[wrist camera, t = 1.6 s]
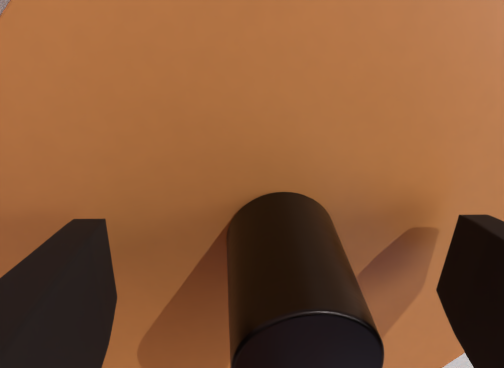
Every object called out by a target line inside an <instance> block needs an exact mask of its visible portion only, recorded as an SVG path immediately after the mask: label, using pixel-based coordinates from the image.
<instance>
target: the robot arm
mask: <svg viewBox="0 0 504 368" xmlns="http://www.w3.org/2000/svg"><path fill="white" fill-rule="evenodd" d="M436 291H437V294H438V296H439V299H440V301H441V304H442V306H443V309H444V311H445V314H446V316H447V318H448V321H449V323H450V325H451V327H452V330H453V332H454V334H455V336H456V338H457V339H458V341H459V343H460V345H461V346H462V348H463V350H464V352H465V353H466V355H467V357H468V358H469V360H470V362H471V364H472V365H473V367H474V368H504V221H502V220H500V219H497V218H495V217H492V216H490V215H487V214H483V215H459V217H458V220H457V223H456V227H455V230H454V233H453V236H452V240H451V243H450V246H449V249H448V253H447V256H446V259H445V262H444V266H443V269H442V272H441V275H440V278H439V282H438V285H437V288H436ZM116 303H117V291H116V285H115V278H114V272H113V265H112V258H111V252H110V245H109V239H108V232H107V226H106V219H73V220H71V221H70V222H69V223H67V224H66V225H65V226H63V227H62V228H61V229H60V230H58V231H57V232H56V233H55V234H54V235H52V236H51V237H50V238H49V239H47V240H46V241H45V242H44V243H43V244H41V245H40V246H39V247H38V248H37V249H35V250H34V251H33V252H32V253H31V254H29V255H28V256H27V257H26V258H24V259H23V260H22V261H21V262H19V263H18V264H17V265H16V266H14V267H13V268H12V269H11V270H9V271H8V272H7V273H6V274H4V275H3V276H2V277H1V278H0V368H102V365H103V362H104V359H105V356H106V352H107V349H108V346H109V341H110V336H111V331H112V326H113V321H114V315H115V309H116Z"/></svg>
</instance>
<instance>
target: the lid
mask: <svg viewBox="0 0 504 368" xmlns="http://www.w3.org/2000/svg"><path fill="white" fill-rule="evenodd" d="M483 214H487V215H490V216H492V217H495V218H497V219H500V220H502V221H504V0H10V1H9V3H8V4H7V6H6V8H5V9H4V11H3V12H2V14H1V15H0V278H1V277H2V276H3V275H4V274H6V273H7V272H8V271H9V270H11V269H12V268H13V267H14V266H16V265H17V264H18V263H19V262H21V261H22V260H23V259H24V258H26V257H27V256H28V255H29V254H31V253H32V252H33V251H34V250H35V249H37V248H38V247H39V246H40V245H41V244H43V243H44V242H45V241H46V240H47V239H49V238H50V237H51V236H52V235H54V234H55V233H56V232H57V231H58V230H60V229H61V228H62V227H63V226H65V225H66V224H67V223H69V222H70V221H71V220H73V219H106V226H107V232H108V239H109V245H110V252H111V258H112V265H113V272H114V278H115V285H116V291H117V303H116V309H115V315H114V321H113V326H112V331H111V336H110V341H109V346H108V349H107V352H106V356H105V359H104V362H103V365H102V368H442V367H444V366H445V365H447V364H448V363H450V362H451V361H453V360H454V359H456V358H457V357H459V356H460V355H462V354H463V353H464V350H463V348H462V346H461V345H460V343H459V341H458V339H457V338H456V336H455V334H454V332H453V330H452V327H451V325H450V323H449V321H448V318H447V316H446V314H445V311H444V309H443V306H442V304H441V301H440V299H439V296H438V294H437V291H436V288H437V285H438V282H439V278H440V275H441V272H442V269H443V266H444V262H445V259H446V256H447V253H448V249H449V246H450V243H451V240H452V236H453V233H454V230H455V227H456V223H457V220H458V217H459V215H483Z"/></svg>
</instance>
